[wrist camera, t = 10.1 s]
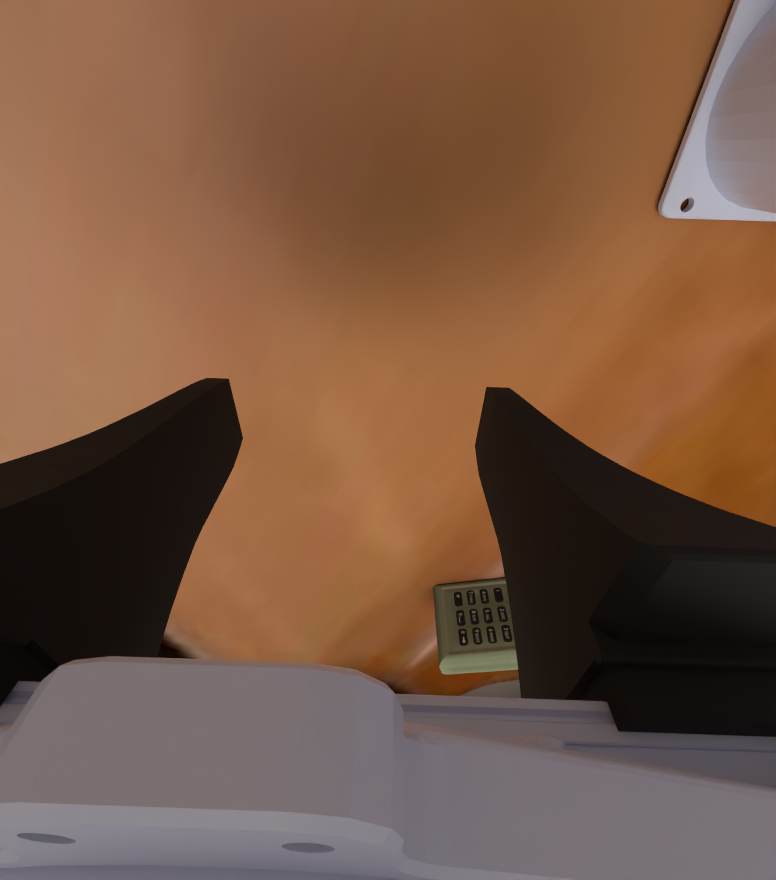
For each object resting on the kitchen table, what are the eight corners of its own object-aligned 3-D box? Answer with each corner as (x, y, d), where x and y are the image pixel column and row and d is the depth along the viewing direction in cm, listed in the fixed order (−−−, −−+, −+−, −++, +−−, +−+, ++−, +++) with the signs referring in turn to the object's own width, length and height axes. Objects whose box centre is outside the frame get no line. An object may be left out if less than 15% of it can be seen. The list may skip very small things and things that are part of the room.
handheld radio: (431, 579, 34) (754, 544, 30) (436, 599, 36) (740, 568, 32) (437, 662, 29) (828, 631, 25) (443, 679, 31) (806, 654, 27)
